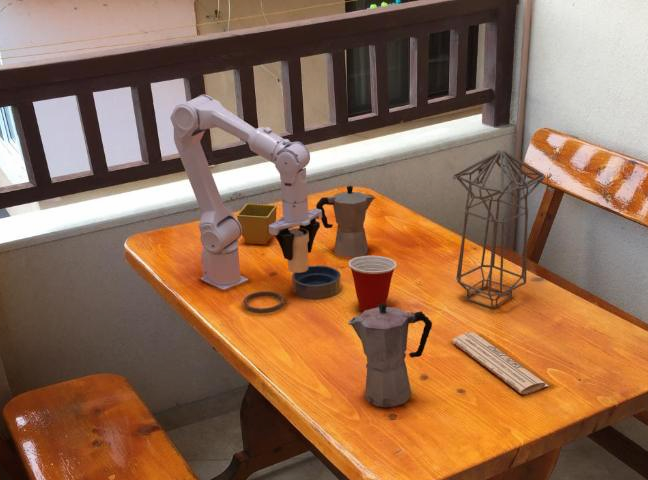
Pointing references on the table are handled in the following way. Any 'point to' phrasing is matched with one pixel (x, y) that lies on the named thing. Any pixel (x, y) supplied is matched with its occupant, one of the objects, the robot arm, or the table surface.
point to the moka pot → (388, 352)
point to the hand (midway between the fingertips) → (297, 255)
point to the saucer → (263, 310)
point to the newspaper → (499, 363)
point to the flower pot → (257, 222)
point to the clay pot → (299, 251)
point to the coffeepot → (348, 221)
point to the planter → (317, 282)
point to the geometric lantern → (486, 165)
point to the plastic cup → (372, 279)
